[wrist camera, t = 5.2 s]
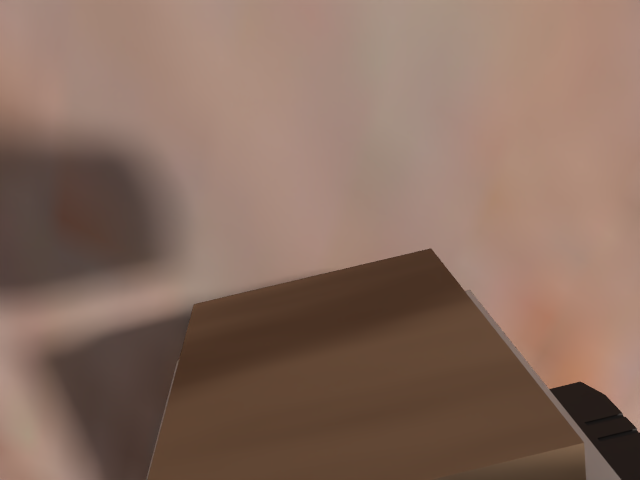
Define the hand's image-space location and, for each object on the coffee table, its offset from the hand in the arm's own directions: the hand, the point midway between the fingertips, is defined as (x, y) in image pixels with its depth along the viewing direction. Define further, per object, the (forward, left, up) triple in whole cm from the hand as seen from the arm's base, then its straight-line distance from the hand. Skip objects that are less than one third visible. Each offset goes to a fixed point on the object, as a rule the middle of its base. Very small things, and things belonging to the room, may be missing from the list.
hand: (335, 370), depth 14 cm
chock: (0, 0, 0) cm, 0 cm away
